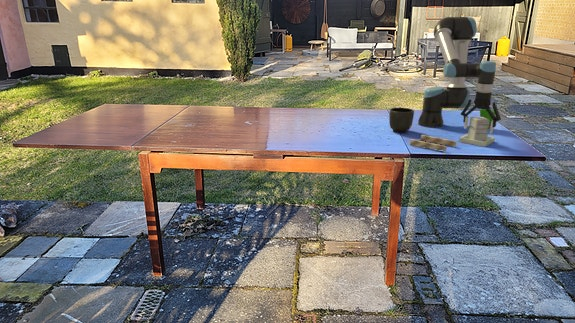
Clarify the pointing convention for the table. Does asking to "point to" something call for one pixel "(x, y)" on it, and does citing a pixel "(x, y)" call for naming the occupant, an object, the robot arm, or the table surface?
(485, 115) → the cup
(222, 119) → the table surface
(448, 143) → the open u-shaped frame
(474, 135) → the supplement box
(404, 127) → the planter
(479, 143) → the tray
